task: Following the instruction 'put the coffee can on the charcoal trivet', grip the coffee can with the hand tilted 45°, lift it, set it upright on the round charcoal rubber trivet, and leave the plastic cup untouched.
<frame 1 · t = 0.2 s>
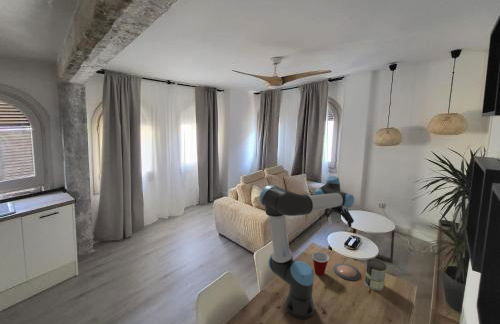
hand: (339, 227, 157), 28 cm above the table, tool tilted 15°, fingers open, 13 cm apart
plastic cup: (319, 273, 153), on the table
coffee can: (373, 285, 143), on the table
charcoal trivet: (346, 272, 154), on the table
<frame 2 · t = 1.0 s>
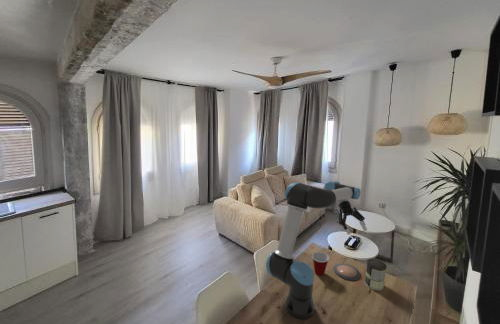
hand: (357, 232, 153), 27 cm above the table, tool tilted 45°, fingers open, 13 cm apart
nothing on the table moved.
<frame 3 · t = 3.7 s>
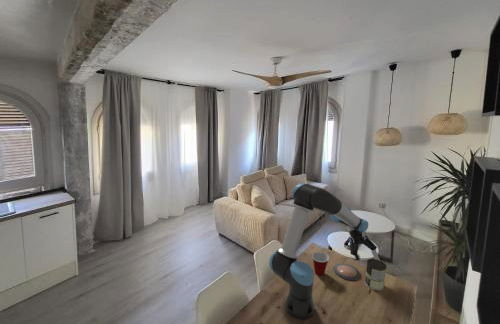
hand: (370, 263, 146), 11 cm above the table, tool tilted 45°, fingers open, 13 cm apart
nothing on the table moved.
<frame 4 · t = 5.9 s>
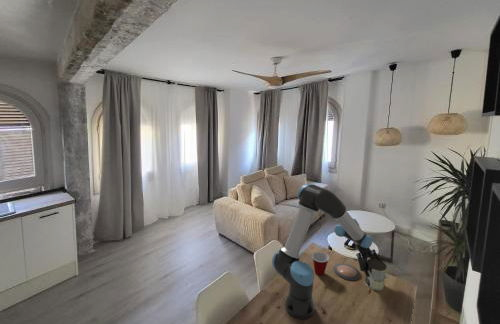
hand: (379, 280, 139), 5 cm above the table, tool tilted 45°, fingers closed on coffee can, 10 cm apart
coffee can: (373, 284, 143), on the table, touching gripper
everything else where it was.
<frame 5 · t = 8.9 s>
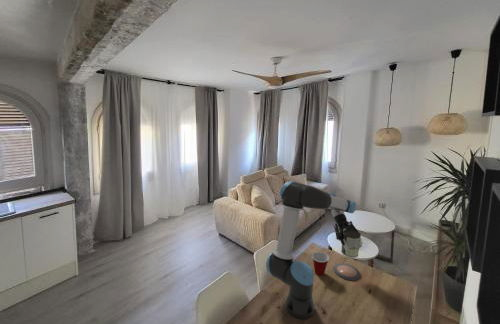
hand: (353, 248, 148), 19 cm above the table, tool tilted 45°, fingers closed on coffee can, 10 cm apart
coffee can: (349, 253, 151), point 14 cm above the table, touching gripper
everything else where it was.
when the fingers open (7 cm above the table, at t = 11.7 s): coffee can drops 1 cm, resting on charcoal trivet.
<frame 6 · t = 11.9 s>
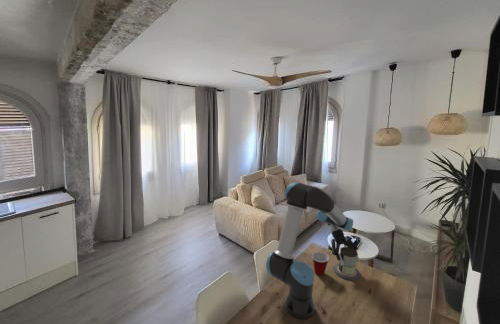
hand: (350, 263, 151), 8 cm above the table, tool tilted 45°, fingers open, 12 cm apart
coffee can: (346, 270, 154), point 1 cm above the table, touching charcoal trivet
everything else where it was.
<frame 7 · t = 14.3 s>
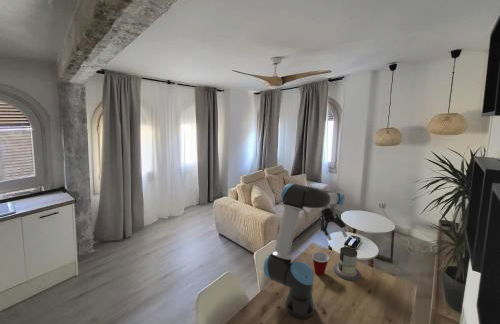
hand: (338, 238, 160), 19 cm above the table, tool tilted 45°, fingers open, 13 cm apart
nothing on the table moved.
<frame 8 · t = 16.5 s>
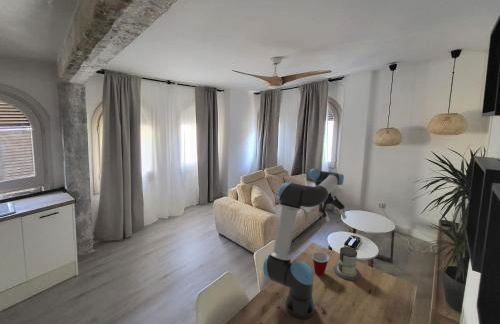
hand: (337, 219, 157), 33 cm above the table, tool tilted 45°, fingers open, 13 cm apart
nothing on the table moved.
at the end: coffee can inside the target area on the charcoal trivet (0.3 cm from its centre), point 0.9 cm above the charcoal trivet's base; coffee can tilted 0°; plastic cup moved 0.2 cm from its start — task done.
